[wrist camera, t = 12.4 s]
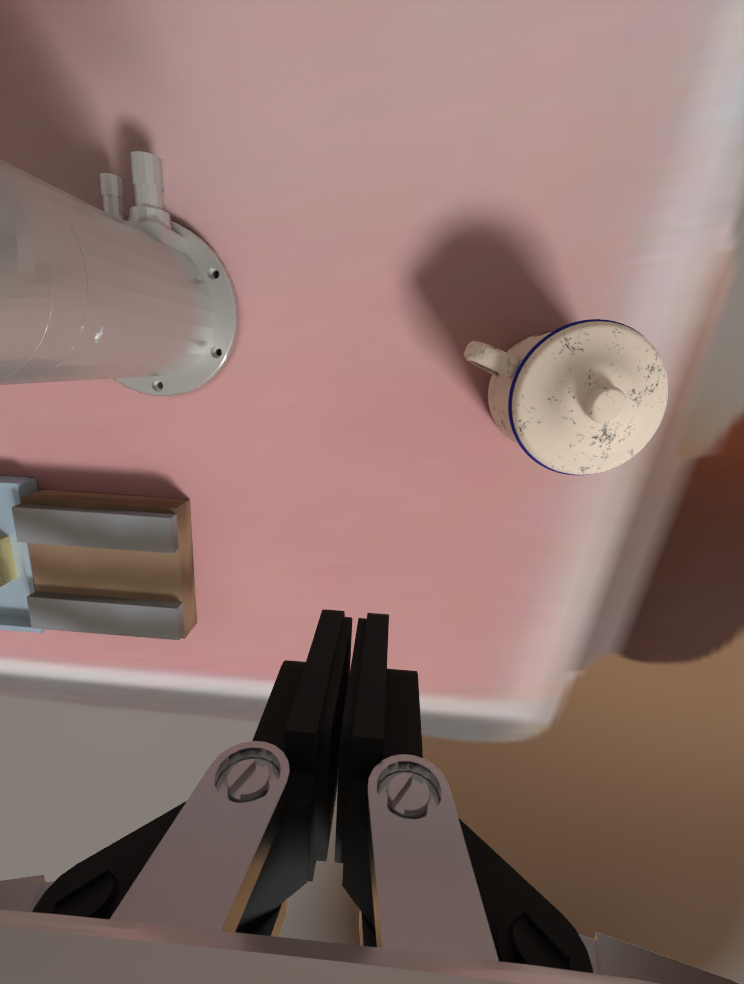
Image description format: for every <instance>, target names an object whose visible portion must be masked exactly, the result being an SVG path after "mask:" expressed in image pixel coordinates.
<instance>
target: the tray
mask: <svg viewBox="0 0 744 984" xmlns="http://www.w3.org/2000/svg"><path fill="white" fill-rule="evenodd" d="M37 491H38V490H37V483H36V478H30V477H15V476H1V475H0V536H9V537H10V542H11V547H12V552H13V557H14V562H15V567H16V571H17V576H18V577H17V578H15V579H14V580H12V581H10V582H8V583H7V584H5V585H3V586H1V587H0V630H10V631H22V632H34V633H42V632H44V631H45V630H46V629H36V628H32V626H31V620H30V615H29V609H28V603H27V596H29V595H30V594H32V593H34V592H35V585H34V579H33V573H32V567H31V561H30V554H29V548H28V543H24V542H17V538H16V532H15V526H14V520H13V514H12V508H11V507H13V506H15V505H18V504H21V499H20V497H23V496H26V495H29V494H32V493H34V492H37Z"/></svg>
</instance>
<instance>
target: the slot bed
mask: <svg viewBox="0 0 744 984" xmlns="http://www.w3.org/2000/svg"><path fill="white" fill-rule="evenodd" d="M20 499H21V504H18V505H15V506H13V507H11V508H12V514H13V520H14V526H15V532H16V538H17V542H24V543H28V548H29V554H30V561H31V567H32V573H33V579H34V585H35V592H34V593H32V594H30V595H29V596H27V603H28V609H29V615H30V620H31V626H32V628H36V629H49V630H61V631H73V632H85V633H98V634H110V635H122V636H135V637H147V638H159V639H171V640H180V639H181V638H186V636H187V635H188V634H189V632H190V631H191V630H192V629H193V627H194V626H195V625H196V623H197V617H196V600H195V582H194V565H193V547H192V530H191V512H190V499H175V498H161V497H146V496H132V495H117V494H103V493H88V492H73V491H59V490H44V489H43V490H40V491H37V492H34V493H32V494H29V495H26V496H23V497H20Z"/></svg>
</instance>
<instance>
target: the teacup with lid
mask: <svg viewBox="0 0 744 984" xmlns="http://www.w3.org/2000/svg"><path fill="white" fill-rule="evenodd" d="M464 357H465V359H466V360H467V361H469V362H470V363H472V364H473V365H475V366H477V367H479V368H481V369H483V370H485V371H487V372H489V373H491V374H492V376H491V379H490V383H489V388H488V403H489V409H490V412H491V415H492V418H493V420H494V422H495V423H496V425H497V427H498V428H499V429H500V431H501V432H502V433H503V434H504V435H506V436H507V437H508V438H509V439H511V440H512V441H514V442H515V443H516V444H518V445H519V446H521V448H522V449H523V450H524V452H525V453H526V454H527V455H528V456H529V457H530V458H532V459H533V460H534V461H535V462H537V463H538V464H540V465H541V466H543V467H545V468H547V469H549V470H552V471H555V472H558V473H562V474H568V475H589V474H595V473H599V472H603V471H606V470H609V469H612V468H614V467H616V466H618V465H621V464H622V463H624V462H626V461H627V460H629V459H630V458H632V457H633V456H634V455H635V454H637V453H638V452H639V451H640V450H641V449H642V448H643V447H644V446H645V445H646V444H647V443H648V441H649V440H650V439H651V438H652V436H653V435H654V433H655V432H656V430H657V428H658V427H659V424H660V422H661V420H662V418H663V415H664V412H665V408H666V404H667V398H668V380H667V374H666V370H665V367H664V364H663V361H662V359H661V357H660V355H659V353H658V352H657V350H656V349H655V348H654V346H653V345H652V344H651V343H650V342H649V341H648V340H647V339H646V338H645V337H644V336H643V335H641V334H640V333H639V332H637V331H636V330H634V329H632V328H631V327H629V326H626V325H624V324H621V323H618V322H615V321H609V320H600V319H594V320H583V321H579V322H574V323H571V324H568V325H565V326H563V327H561V328H559V329H557V330H555V331H551V332H546V333H541V334H536V335H533V336H530V337H528V338H525V339H523V340H522V341H520V342H518V343H517V344H515V345H514V346H513V347H511V348H510V349H509V350H508V351H507V352H504V351H502V350H500V349H497V348H495V347H493V346H490V345H488V344H485V343H482V342H479V341H472V342H470V343H469V344H468V345H467V347H466V349H465V352H464Z"/></svg>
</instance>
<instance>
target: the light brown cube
mask: <svg viewBox="0 0 744 984" xmlns="http://www.w3.org/2000/svg"><path fill="white" fill-rule="evenodd" d="M17 577H18V576H17V571H16V567H15V562H14V557H13V552H12V547H11V542H10V537H9V536H0V587H1V586H3V585H5V584H7V583H8V582H10V581H12V580H14V579H15V578H17Z"/></svg>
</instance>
